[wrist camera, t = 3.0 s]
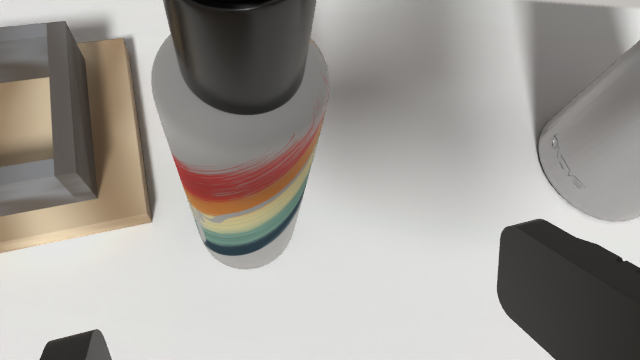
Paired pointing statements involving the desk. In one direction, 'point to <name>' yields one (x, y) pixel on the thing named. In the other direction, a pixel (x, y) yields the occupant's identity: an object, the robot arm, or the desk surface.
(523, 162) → the desk surface
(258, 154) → the lotion bottle
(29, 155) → the socket board
